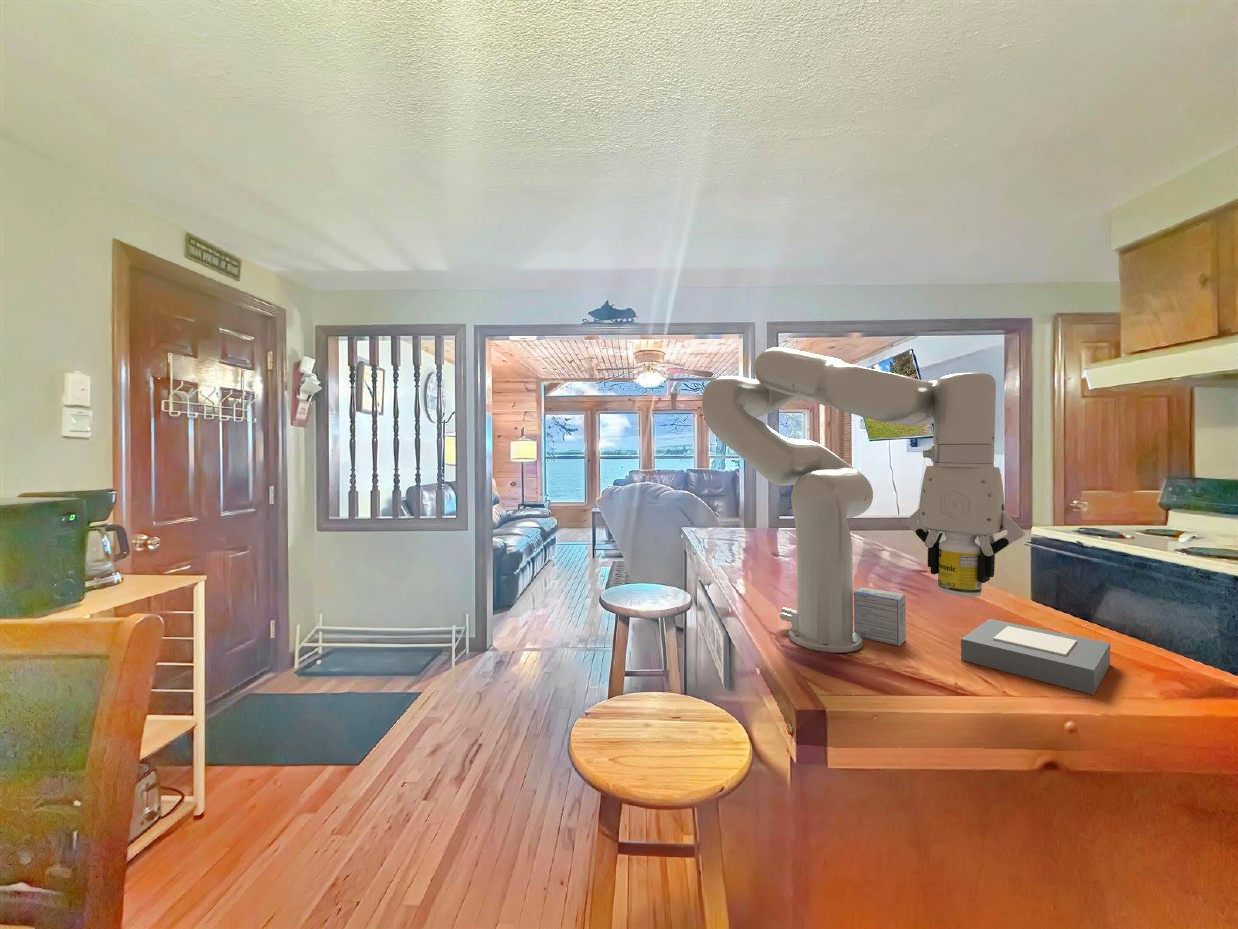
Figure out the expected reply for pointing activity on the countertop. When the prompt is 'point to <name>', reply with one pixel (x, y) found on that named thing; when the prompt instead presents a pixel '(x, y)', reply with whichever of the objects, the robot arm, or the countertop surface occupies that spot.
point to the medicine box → (880, 615)
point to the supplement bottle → (959, 565)
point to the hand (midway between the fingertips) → (959, 575)
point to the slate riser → (1038, 654)
